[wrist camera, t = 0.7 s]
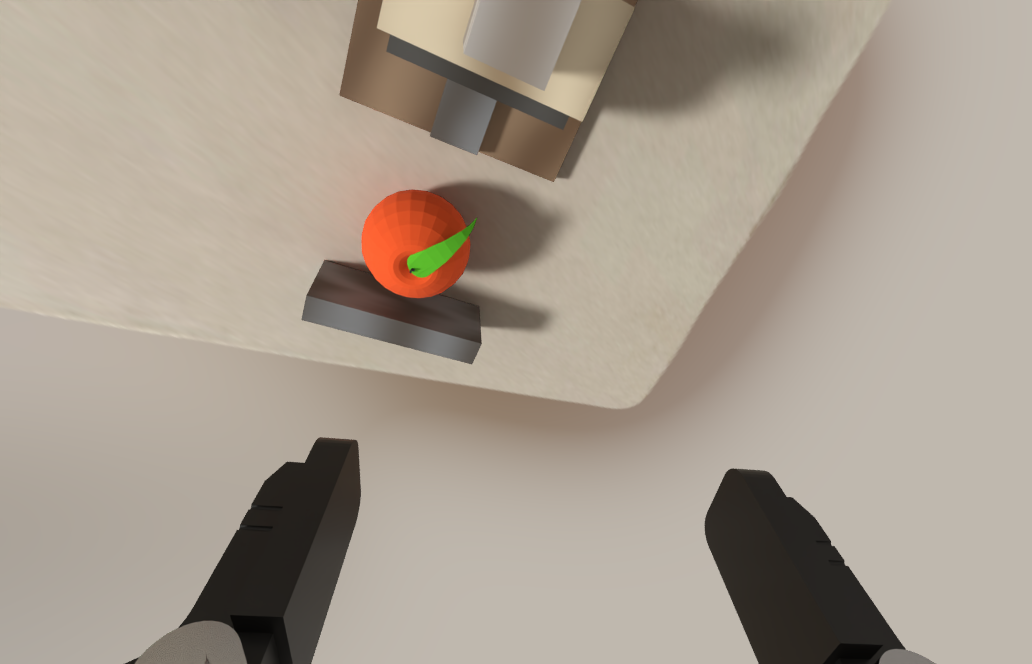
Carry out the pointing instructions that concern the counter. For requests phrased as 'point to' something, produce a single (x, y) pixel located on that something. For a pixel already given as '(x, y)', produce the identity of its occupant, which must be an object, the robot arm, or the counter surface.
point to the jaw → (513, 48)
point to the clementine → (416, 243)
